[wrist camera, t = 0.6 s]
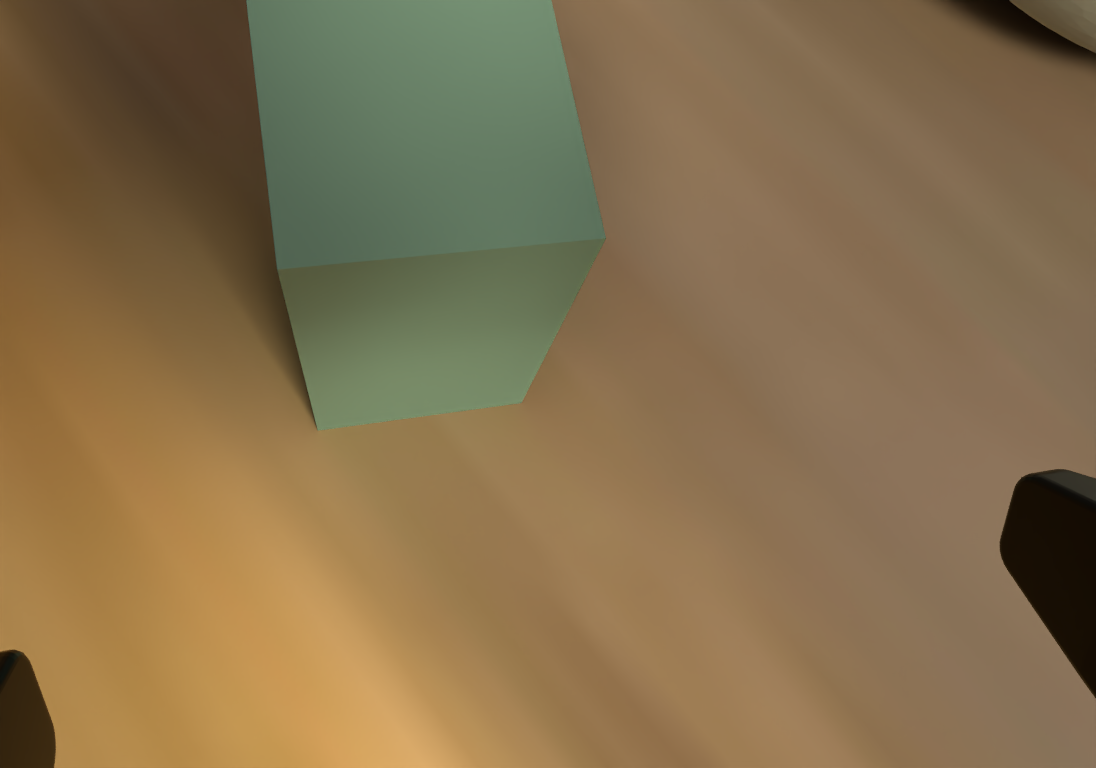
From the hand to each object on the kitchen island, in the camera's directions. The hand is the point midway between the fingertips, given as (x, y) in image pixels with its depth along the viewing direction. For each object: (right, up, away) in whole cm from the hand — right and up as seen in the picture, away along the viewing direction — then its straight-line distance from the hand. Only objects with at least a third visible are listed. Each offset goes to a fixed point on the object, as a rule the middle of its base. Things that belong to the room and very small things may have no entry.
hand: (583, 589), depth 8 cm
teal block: (-4, +3, +15) cm, 16 cm away
